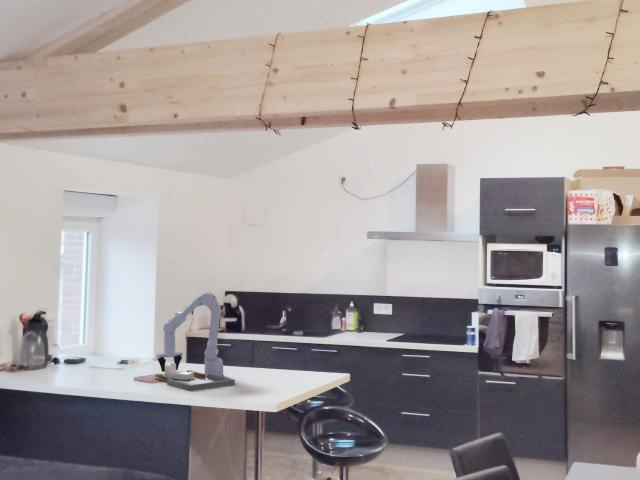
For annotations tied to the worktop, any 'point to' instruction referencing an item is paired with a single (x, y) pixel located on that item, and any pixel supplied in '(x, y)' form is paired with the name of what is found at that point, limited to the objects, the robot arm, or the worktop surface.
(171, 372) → the bracket
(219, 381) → the gray u-shaped frame
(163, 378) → the brown rectangular beams
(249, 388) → the worktop surface
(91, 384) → the worktop surface
